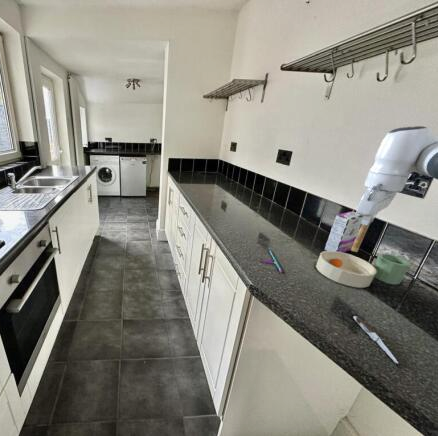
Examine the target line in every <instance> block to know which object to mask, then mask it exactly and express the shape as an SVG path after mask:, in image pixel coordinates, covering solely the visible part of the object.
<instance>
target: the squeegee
mask: <svg viewBox="0 0 438 436" xmlns="http://www.w3.org/2000/svg"><path fill="white" fill-rule="evenodd" d="M268 252H269V253H270V255H271V257H272V260H273V261H274V262H273V261H271V260H262V263H266V264H274V265H276V267H277V269H278V271H279V273H280V274H283V270H282V268H281V267H280V265H279V263H278V261H277V259H276V258H275V255H274V254H273V252H272V251H271V250H268Z"/></svg>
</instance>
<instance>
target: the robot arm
mask: <svg viewBox="0 0 438 436" xmlns="http://www.w3.org/2000/svg"><path fill="white" fill-rule="evenodd" d="M412 173H417V174H421V175H423V176H426V177H430V178H432V179H435V180H437V181H438V135H437V134H435V133H433V132H432V131H431V130H429V128H428V127H427V126H423V125H422V126H420V125H419V126H418V125H416V126H404V127H398V128H394V129H392V130H390V131H389V132H387V134H386V135H385V136H384V138H383V139H382V141H381V143H380V145H379V147H378V148H377V151H376V154H375V155H374V163H373V165H372V166H371V167H370V169H369V171H368V173H367V175H366V178H365V180H364V183H363V186H364V187H365V188H366V187H367V189H366V190H365V192H364V193H363V195H362V197H361V199H360V201H359V203H358V205H357V208H356V210H355V212H356V213H357V214H359V215H363V219H362V222H361V225H362V224H363V225H368V224H369V223H370V224H372V223H373V221H374V220H375V218H376V216H377V215H378V213H379V212H381V211H382V210H385V209H386V208H388V207H389V205H390V204H391V203H392V202H393V200H394V198H395V197H396V195H397V193H398V192H403V190H404V188H405V186H406V184H407V181H408V180H409V177H410V175H411V174H412ZM373 215H374V216H373ZM372 216H373V218H372ZM371 218H372V220H371ZM370 221H371V222H370Z"/></svg>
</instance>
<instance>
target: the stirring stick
mask: <svg viewBox="0 0 438 436" xmlns="http://www.w3.org/2000/svg"><path fill="white" fill-rule="evenodd" d="M373 216H374V215H373ZM373 216H372V218H373ZM372 218H371V220H372ZM370 222H371V221H370ZM370 225H371V223H369V224H368V225H363V224H361V226H360V229H359V231H358V234H357V236H356V239H355V241H354V243H353V246H352V248H351V250H350V251H351V252H354V253H358V252H359V249H360V248H361V244H362V243H363V240H364V238H365V236H366V233H367V231H368V229H369V227H370Z"/></svg>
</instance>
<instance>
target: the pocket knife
mask: <svg viewBox="0 0 438 436" xmlns="http://www.w3.org/2000/svg"><path fill="white" fill-rule="evenodd" d="M352 318H353V319H354V321H355V322H356V323H357V325H359V326H360V327H361V328H362V330H363V331H364V332H365V333H366V334H367V335H368V336H369V337H370V338H371V339H372V341H374V342H376V343H377V344H378V346H379V347H380V348H381V349H382V350H383V351H384V352H385V353H386V354H387V355H388V357H389V358H390V359H391V360H392V361H393V362H394V363H395V364H398V365H399V364H400V363H399V361H398V360H397V359H396V357H395V356H394V355H393V353H392V352H391V351H390V350H389V348H388V347H387V346H386V344H385V343H384V342H383V340H382V339H381V337H380V336H379V335H378V334H377V333H376V332H375V331H374V329H372V328H371V327H370V326H369V324H367V322H366V321H364V320H363V319H362V318H361V317H360V316H356V315H354V316H353V317H352Z"/></svg>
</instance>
